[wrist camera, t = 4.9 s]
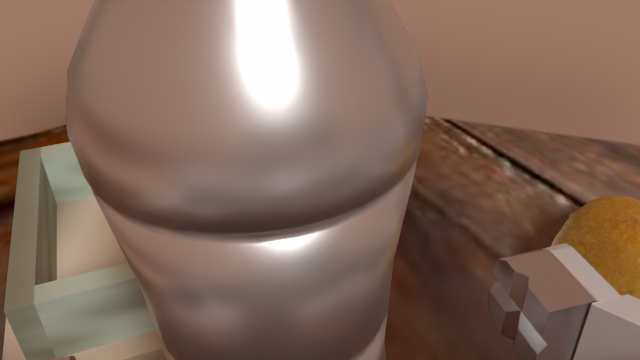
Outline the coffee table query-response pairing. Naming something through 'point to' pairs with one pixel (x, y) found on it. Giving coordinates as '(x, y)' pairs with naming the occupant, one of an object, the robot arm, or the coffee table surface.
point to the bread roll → (608, 240)
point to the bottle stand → (69, 271)
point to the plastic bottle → (252, 166)
